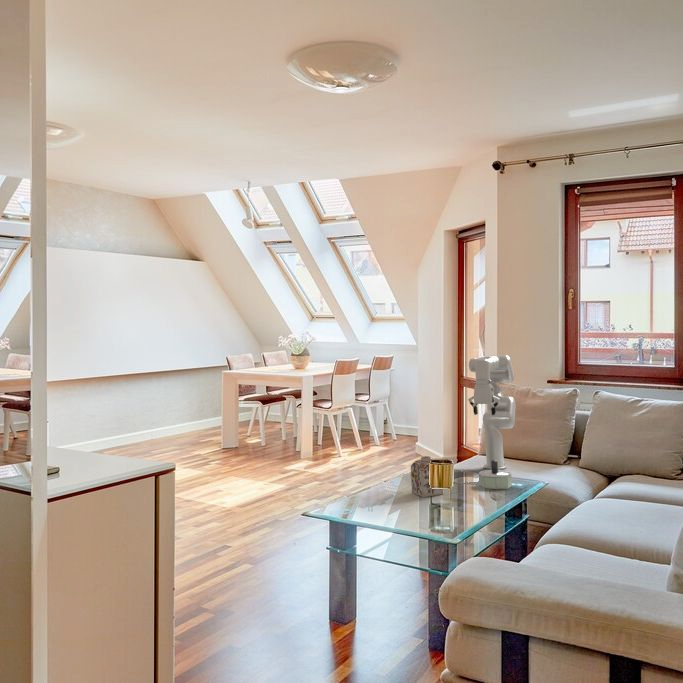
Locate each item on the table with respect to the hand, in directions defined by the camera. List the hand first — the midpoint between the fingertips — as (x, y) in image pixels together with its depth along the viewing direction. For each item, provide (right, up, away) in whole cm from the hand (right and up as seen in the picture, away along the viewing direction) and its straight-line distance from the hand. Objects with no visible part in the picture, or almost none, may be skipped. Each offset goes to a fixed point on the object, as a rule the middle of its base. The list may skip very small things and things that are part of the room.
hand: (484, 414), depth 359 cm
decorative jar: (-34, -36, -29) cm, 57 cm away
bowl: (+1, -34, -21) cm, 39 cm away
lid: (+1, -28, -21) cm, 35 cm away
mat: (-10, -34, -6) cm, 36 cm away
